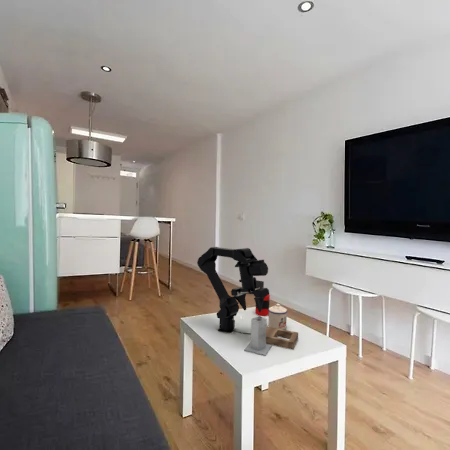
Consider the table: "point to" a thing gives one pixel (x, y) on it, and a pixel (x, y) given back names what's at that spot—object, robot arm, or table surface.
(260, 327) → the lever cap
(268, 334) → the brown wooden rectangular frame
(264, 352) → the rubber mat
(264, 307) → the soda can
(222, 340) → the table surface
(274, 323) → the teacup with lid
